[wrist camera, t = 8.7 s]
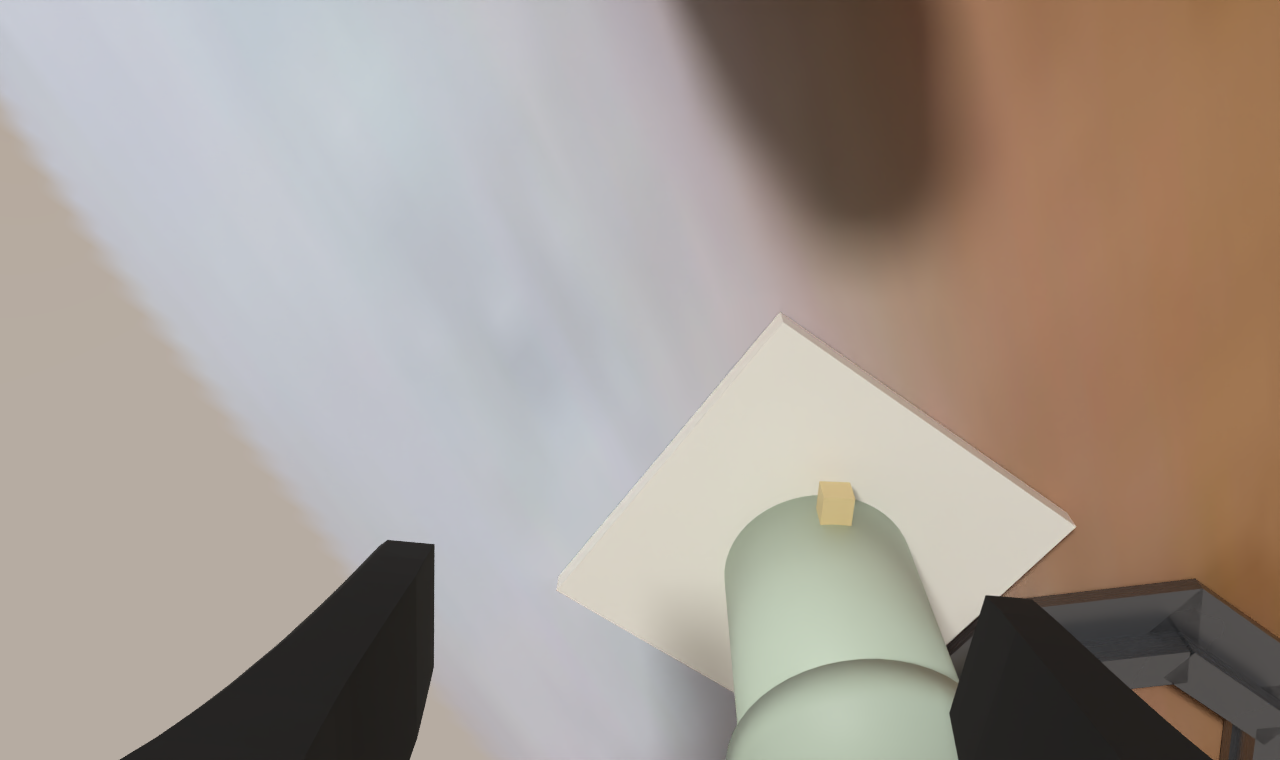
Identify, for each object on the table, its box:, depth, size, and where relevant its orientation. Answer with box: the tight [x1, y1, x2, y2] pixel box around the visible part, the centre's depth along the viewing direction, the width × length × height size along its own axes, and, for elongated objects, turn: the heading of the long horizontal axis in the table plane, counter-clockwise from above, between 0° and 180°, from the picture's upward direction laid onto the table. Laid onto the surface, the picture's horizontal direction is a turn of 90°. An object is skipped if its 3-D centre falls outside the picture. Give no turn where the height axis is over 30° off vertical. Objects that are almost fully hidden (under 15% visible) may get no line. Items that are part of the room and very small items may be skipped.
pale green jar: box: [724, 481, 959, 760], centre depth 21 cm, size 6×5×7 cm
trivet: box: [556, 312, 1076, 693], centre depth 25 cm, size 9×9×1 cm
